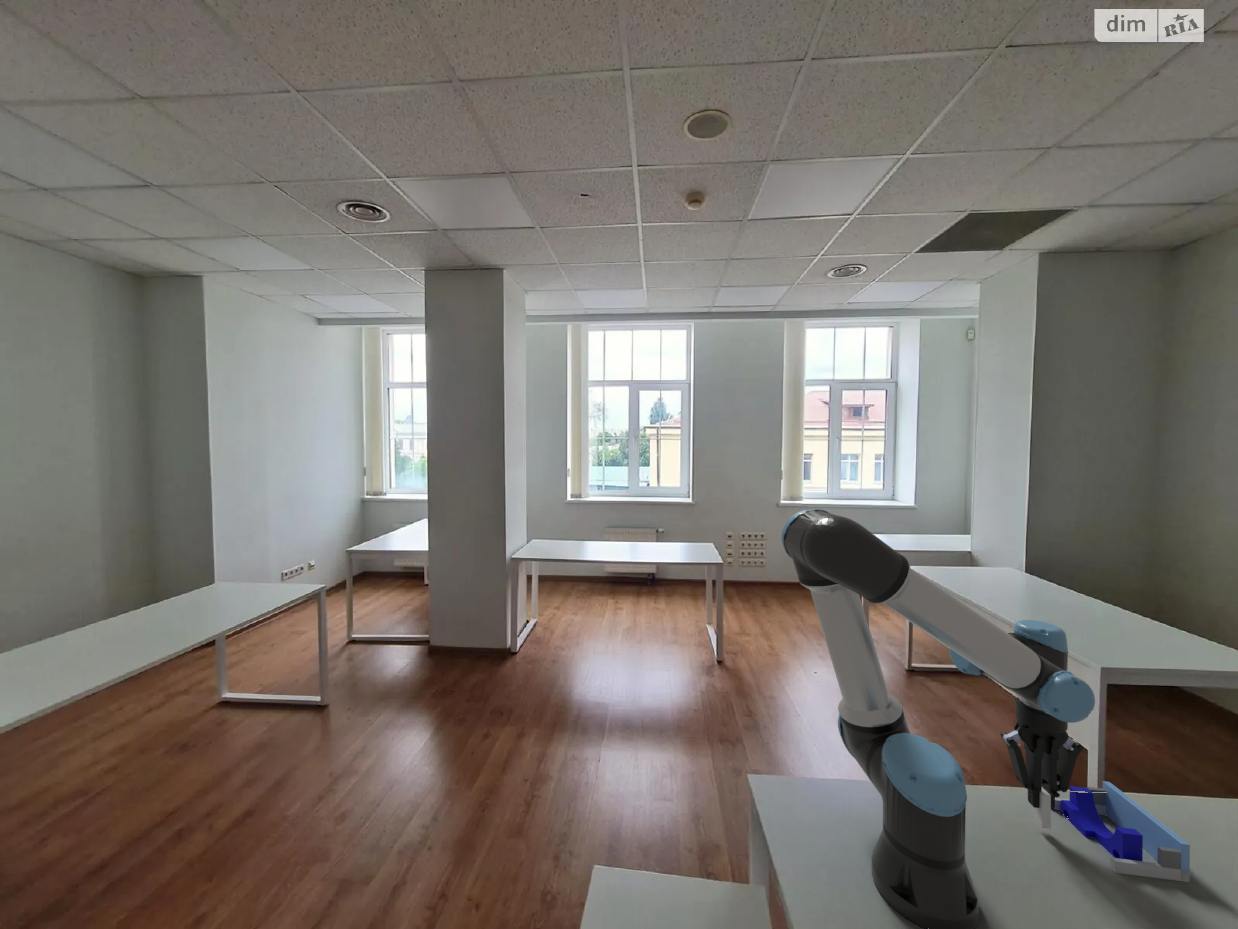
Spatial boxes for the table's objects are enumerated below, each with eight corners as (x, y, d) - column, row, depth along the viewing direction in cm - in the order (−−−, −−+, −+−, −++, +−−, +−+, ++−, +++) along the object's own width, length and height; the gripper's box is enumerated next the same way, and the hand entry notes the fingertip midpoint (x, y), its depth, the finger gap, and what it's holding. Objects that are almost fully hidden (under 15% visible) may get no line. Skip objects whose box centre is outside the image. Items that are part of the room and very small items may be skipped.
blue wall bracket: (1114, 872, 81) (1114, 836, 81) (1048, 806, 96) (1048, 775, 96) (1189, 882, 79) (1189, 845, 79) (1109, 813, 94) (1109, 781, 94)
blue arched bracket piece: (1061, 814, 94) (1061, 785, 94) (1086, 817, 93) (1086, 788, 93) (1112, 865, 82) (1113, 832, 82) (1142, 869, 82) (1142, 835, 82)
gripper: (1016, 711, 87) (1016, 834, 87) (1096, 716, 84) (1096, 843, 85) (991, 691, 94) (991, 804, 94) (1063, 695, 92) (1064, 812, 92)
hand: (1041, 822), depth 89 cm, fingers closed
